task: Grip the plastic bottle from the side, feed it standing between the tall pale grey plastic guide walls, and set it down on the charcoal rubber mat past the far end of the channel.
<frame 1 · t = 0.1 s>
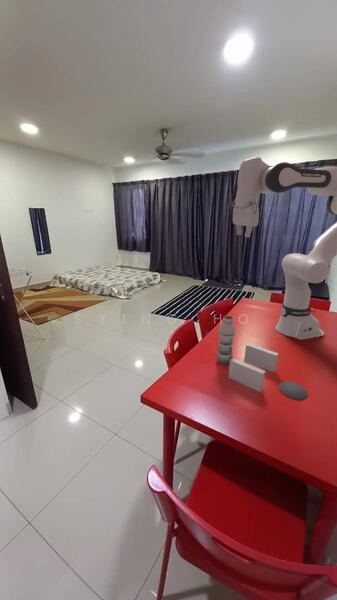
hand: (243, 236, 106), 48 cm above the table, tool pointing down, fingers open, 8 cm apart
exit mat: (292, 390, 84), on the table
guide channel: (252, 373, 93), on the table
plastic bottle: (224, 362, 100), on the table
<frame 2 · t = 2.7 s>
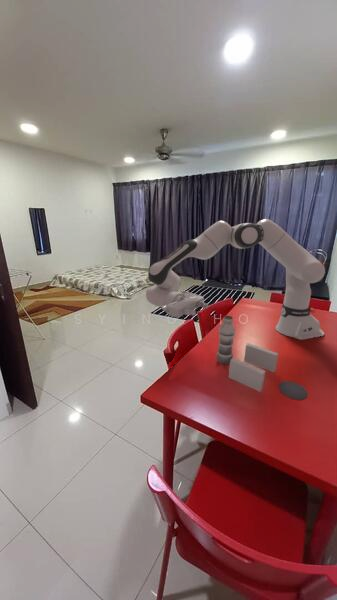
hand: (201, 309, 100), 20 cm above the table, tool horizontal, fingers open, 8 cm apart
nothing on the table moved.
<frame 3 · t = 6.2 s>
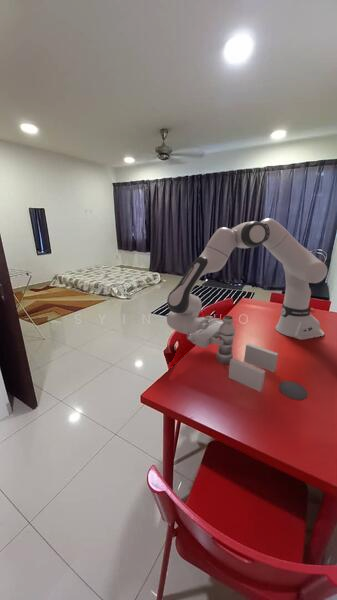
hand: (228, 338, 96), 11 cm above the table, tool horizontal, fingers closed on plastic bottle, 6 cm apart
plastic bottle: (224, 362, 100), on the table, touching gripper
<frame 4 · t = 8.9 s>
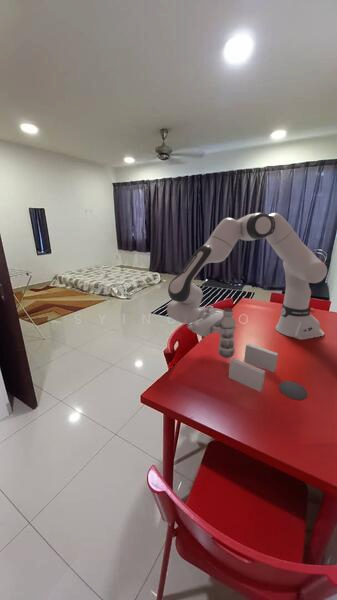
hand: (229, 327, 94), 16 cm above the table, tool horizontal, fingers closed on plastic bottle, 6 cm apart
plastic bottle: (226, 355, 99), point 3 cm above the table, touching gripper
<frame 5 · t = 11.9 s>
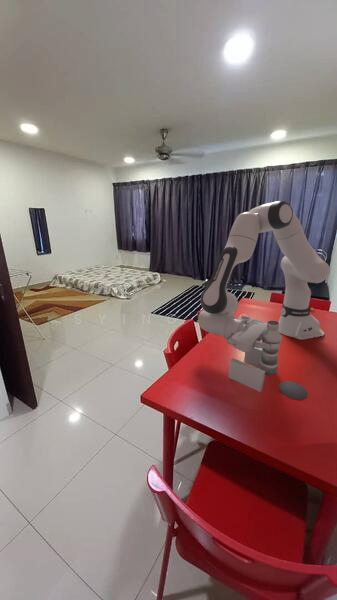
hand: (273, 342, 84), 16 cm above the table, tool horizontal, fingers closed on plastic bottle, 6 cm apart
plastic bottle: (267, 372, 89), point 3 cm above the table, touching gripper
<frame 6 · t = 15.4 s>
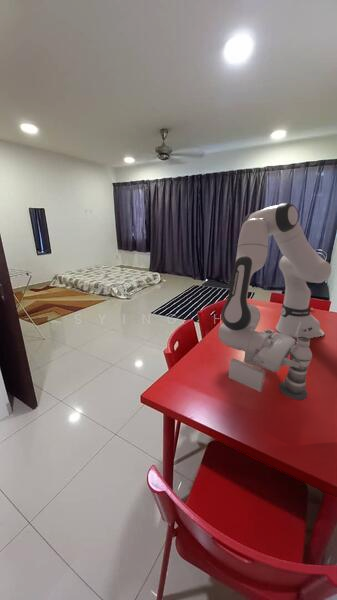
hand: (302, 359, 79), 13 cm above the table, tool horizontal, fingers closed on plastic bottle, 6 cm apart
plastic bottle: (293, 390, 84), resting on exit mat, touching gripper
when the fingers open (12 cm above the table, at t = 16.2 s): plastic bottle stays where it is, resting on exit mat.
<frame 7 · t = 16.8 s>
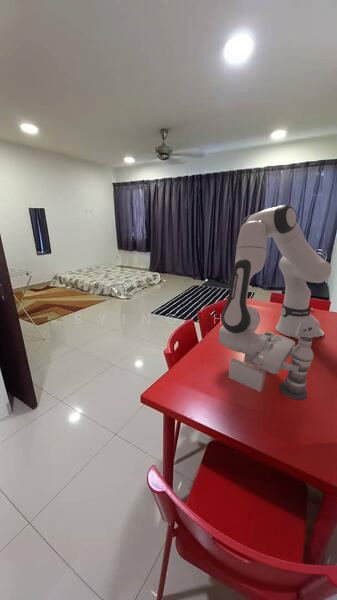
hand: (302, 362, 79), 12 cm above the table, tool horizontal, fingers open, 8 cm apart
plastic bottle: (293, 390, 84), resting on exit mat
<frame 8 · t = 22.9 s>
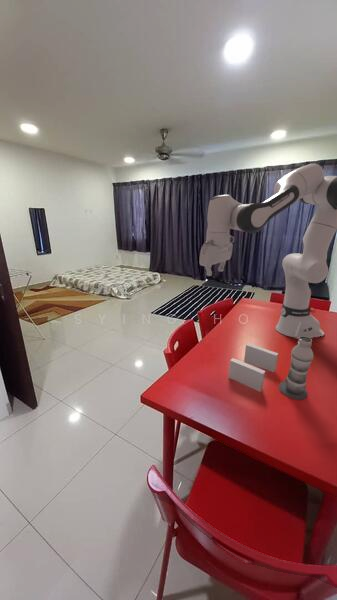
hand: (215, 273, 100), 34 cm above the table, tool pointing down, fingers open, 8 cm apart
nothing on the table moved.
at the end: plastic bottle 0.3 cm from the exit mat (horizontally); plastic bottle tilted 0°; the gripper is holding nothing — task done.
